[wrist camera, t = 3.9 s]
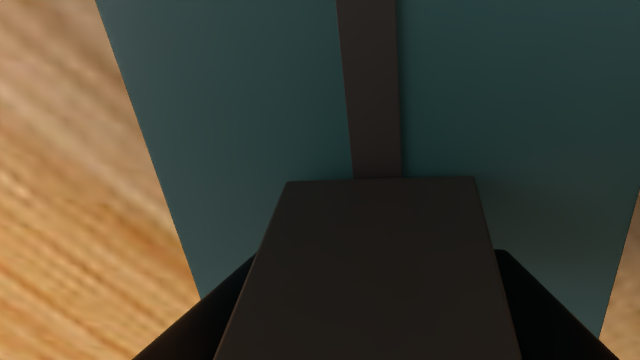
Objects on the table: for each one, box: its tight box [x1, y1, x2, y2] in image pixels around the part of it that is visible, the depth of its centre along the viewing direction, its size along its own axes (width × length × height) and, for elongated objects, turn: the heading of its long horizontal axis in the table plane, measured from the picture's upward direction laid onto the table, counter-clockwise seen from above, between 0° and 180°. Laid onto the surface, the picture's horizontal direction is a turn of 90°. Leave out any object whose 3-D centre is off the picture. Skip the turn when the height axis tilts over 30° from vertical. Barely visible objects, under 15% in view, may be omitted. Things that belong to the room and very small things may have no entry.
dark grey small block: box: [213, 176, 523, 360], centre depth 6 cm, size 3×3×4 cm
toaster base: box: [95, 0, 640, 339], centre depth 9 cm, size 8×12×4 cm, turn 7°
